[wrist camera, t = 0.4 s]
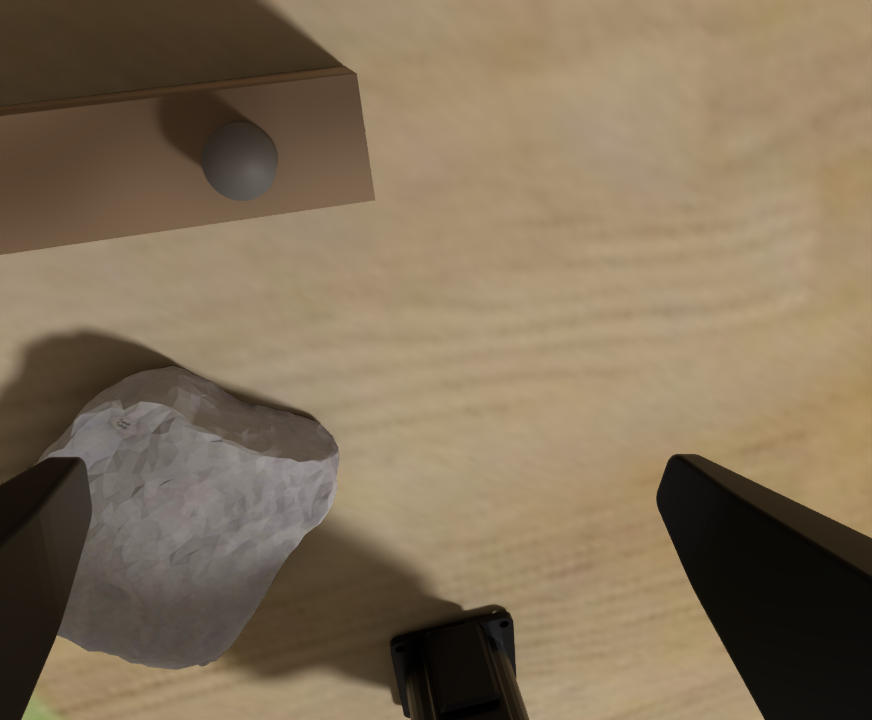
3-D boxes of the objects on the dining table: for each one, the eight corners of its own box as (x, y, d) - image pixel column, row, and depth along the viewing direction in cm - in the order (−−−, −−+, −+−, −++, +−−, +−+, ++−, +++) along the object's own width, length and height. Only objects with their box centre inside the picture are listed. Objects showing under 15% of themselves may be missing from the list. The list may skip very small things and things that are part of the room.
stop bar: (359, 165, 20) (380, 211, 15) (-243, 248, 18) (-477, 338, 13) (344, 65, 19) (360, 76, 13) (-313, 142, 16) (-614, 193, 11)
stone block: (21, 528, 26) (229, 623, 28) (-59, 607, 22) (195, 713, 24) (139, 306, 23) (361, 432, 25) (74, 345, 19) (350, 494, 21)
